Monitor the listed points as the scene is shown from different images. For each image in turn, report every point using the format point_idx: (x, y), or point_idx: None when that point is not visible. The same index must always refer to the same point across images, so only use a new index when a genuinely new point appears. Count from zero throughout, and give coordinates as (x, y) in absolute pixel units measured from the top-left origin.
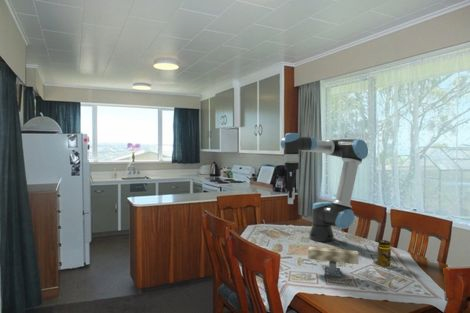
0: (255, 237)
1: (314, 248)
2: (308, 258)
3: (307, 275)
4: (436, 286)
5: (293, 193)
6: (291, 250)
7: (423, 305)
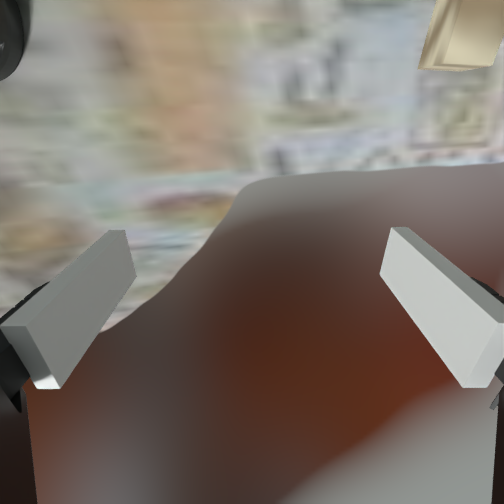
0: None
1: (480, 28)
2: (461, 70)
3: (452, 78)
4: None
5: (92, 277)
6: (204, 157)
7: None
